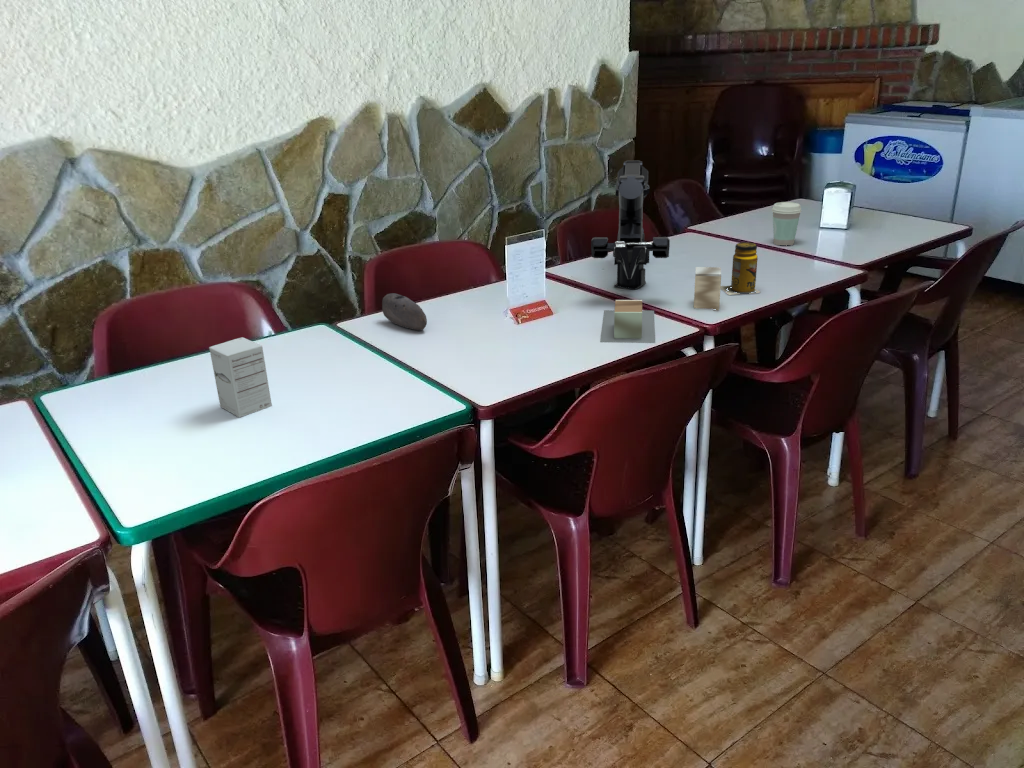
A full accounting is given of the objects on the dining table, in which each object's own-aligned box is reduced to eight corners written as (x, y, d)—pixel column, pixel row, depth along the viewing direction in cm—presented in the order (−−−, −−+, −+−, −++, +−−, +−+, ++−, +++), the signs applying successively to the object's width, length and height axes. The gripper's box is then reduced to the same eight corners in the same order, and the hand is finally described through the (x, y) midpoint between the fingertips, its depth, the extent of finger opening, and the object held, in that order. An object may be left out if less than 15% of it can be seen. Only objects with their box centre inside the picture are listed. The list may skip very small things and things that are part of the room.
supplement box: (219, 407, 163) (207, 346, 158) (254, 395, 168) (243, 335, 163) (238, 418, 159) (226, 355, 154) (273, 406, 163) (263, 344, 158)
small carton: (615, 299, 195) (614, 312, 187) (642, 300, 194) (642, 312, 186) (615, 324, 197) (614, 338, 189) (641, 325, 196) (641, 338, 188)
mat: (604, 311, 207) (604, 310, 207) (653, 312, 205) (654, 310, 205) (600, 343, 187) (600, 342, 187) (655, 344, 186) (655, 342, 185)
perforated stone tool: (435, 331, 199) (432, 302, 196) (416, 336, 196) (413, 308, 193) (399, 317, 210) (397, 289, 207) (381, 322, 207) (378, 294, 204)
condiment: (760, 293, 216) (764, 246, 211) (728, 295, 215) (731, 249, 211) (749, 285, 223) (753, 239, 218) (718, 287, 222) (721, 242, 217)
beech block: (693, 309, 206) (695, 273, 203) (694, 302, 212) (695, 266, 208) (719, 310, 205) (721, 274, 201) (718, 302, 210) (720, 267, 207)
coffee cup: (779, 239, 265) (783, 200, 261) (804, 243, 259) (807, 204, 255) (763, 244, 260) (766, 204, 256) (787, 248, 254) (791, 208, 250)
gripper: (667, 239, 215) (667, 294, 210) (593, 239, 218) (591, 293, 212) (669, 215, 205) (669, 272, 199) (592, 215, 208) (589, 272, 202)
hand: (629, 278), depth 204 cm, fingers closed
